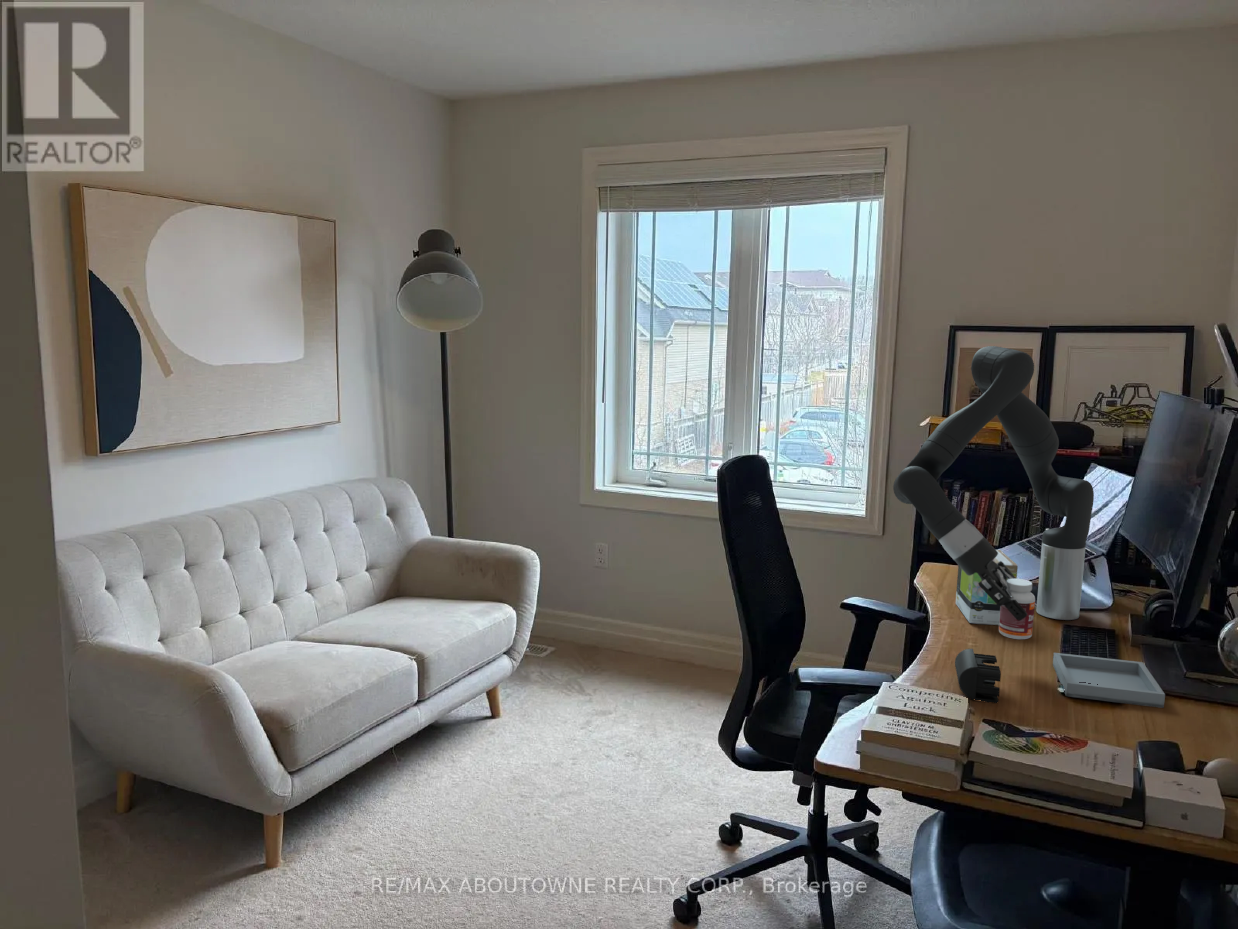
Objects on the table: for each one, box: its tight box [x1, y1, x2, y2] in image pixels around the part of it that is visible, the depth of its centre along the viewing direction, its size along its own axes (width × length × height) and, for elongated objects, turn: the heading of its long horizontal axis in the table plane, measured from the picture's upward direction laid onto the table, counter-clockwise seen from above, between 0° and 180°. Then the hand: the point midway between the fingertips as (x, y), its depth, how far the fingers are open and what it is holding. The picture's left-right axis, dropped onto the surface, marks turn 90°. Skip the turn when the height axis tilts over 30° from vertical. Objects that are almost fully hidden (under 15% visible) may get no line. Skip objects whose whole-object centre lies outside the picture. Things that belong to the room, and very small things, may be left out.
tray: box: [1052, 652, 1166, 709], centre depth 168 cm, size 16×16×3 cm
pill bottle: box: [998, 578, 1036, 640], centre depth 174 cm, size 6×6×11 cm
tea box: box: [955, 549, 1019, 626], centre depth 207 cm, size 15×10×15 cm
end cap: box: [954, 648, 1002, 704], centre depth 164 cm, size 10×7×7 cm
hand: (1026, 612), depth 173 cm, fingers closed on pill bottle, 6 cm apart
